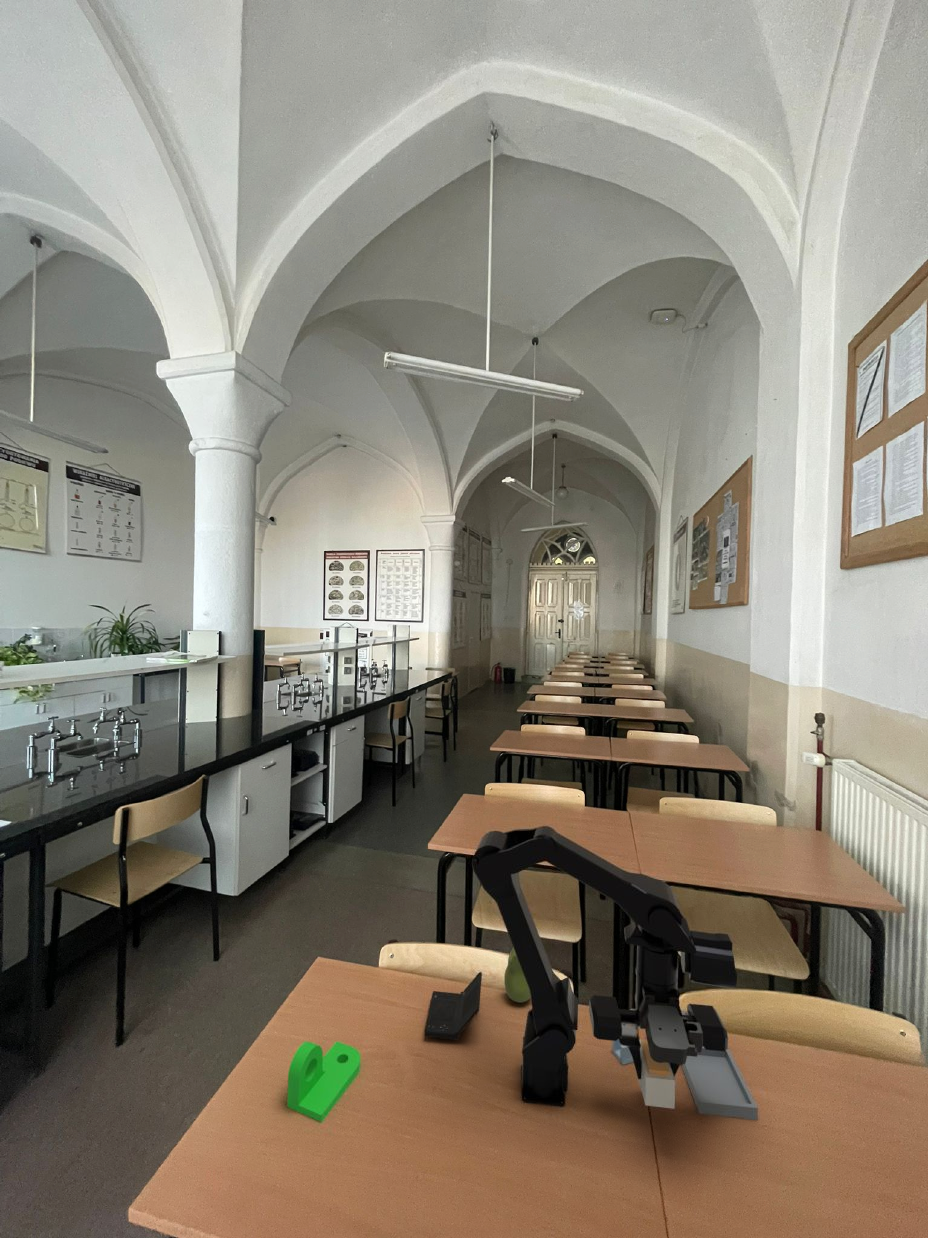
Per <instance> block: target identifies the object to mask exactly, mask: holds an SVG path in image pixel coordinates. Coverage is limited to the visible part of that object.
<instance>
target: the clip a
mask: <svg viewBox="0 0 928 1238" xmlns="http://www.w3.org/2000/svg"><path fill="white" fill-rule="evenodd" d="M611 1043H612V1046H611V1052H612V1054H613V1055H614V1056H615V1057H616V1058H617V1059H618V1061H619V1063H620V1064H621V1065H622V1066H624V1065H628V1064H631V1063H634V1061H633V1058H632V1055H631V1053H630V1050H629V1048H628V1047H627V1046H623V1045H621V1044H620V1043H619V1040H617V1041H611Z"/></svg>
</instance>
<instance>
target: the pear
mask: <svg viewBox="0 0 928 1238" xmlns="http://www.w3.org/2000/svg"><path fill="white" fill-rule="evenodd" d="M507 958H508V959H507V966H506V968H505V971H504V977H503V978H504V989H505V992H506V994H507V996H508V997H509V999H510V1000H512V1001H513V1002H515V1003H525V1002H527V1001H529V1000H530V999H531V995H530V990H529V987H528V984H527V982H526V979H525V977H524V974H523V971H522V969H521V966H520V963H519V961H518V958H517V955H516V953H515V950H514V948H513V947H512V949H511V950H510V952H509V955H508V957H507Z"/></svg>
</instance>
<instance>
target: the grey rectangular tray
mask: <svg viewBox="0 0 928 1238" xmlns="http://www.w3.org/2000/svg"><path fill="white" fill-rule="evenodd" d="M681 1068H682V1071H683V1074H684V1076H685V1079H686V1081H687V1083H688V1087H689V1090H690V1092H691V1096H692V1098H693V1100H694V1103H695V1106H696V1109H697V1112H698V1113H699V1114H701V1115H708V1116H717V1117H727V1118H735V1119H742V1120H744V1119H745V1120H750V1121H751V1120H753V1121H758V1116H759V1108H758V1106H757V1103H756V1101H755V1099H754V1098H753V1096H752V1093H751V1091H750V1089H749V1087H748V1085H747V1083H746V1080H745V1079H744V1077H743V1074H742V1073H741V1070H740V1069H739V1067H738V1064H737V1063H736V1060H735V1059H734V1057H733V1055H732V1052H731V1050H730V1049H729V1047H728V1049H727V1050H726V1051H725V1052H724V1051H714V1050H706V1049H705V1048H704V1047H702V1052H701V1053H700V1052H698V1053H697V1057H695V1056H687V1059H686V1063H685V1064H683V1065H681Z"/></svg>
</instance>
